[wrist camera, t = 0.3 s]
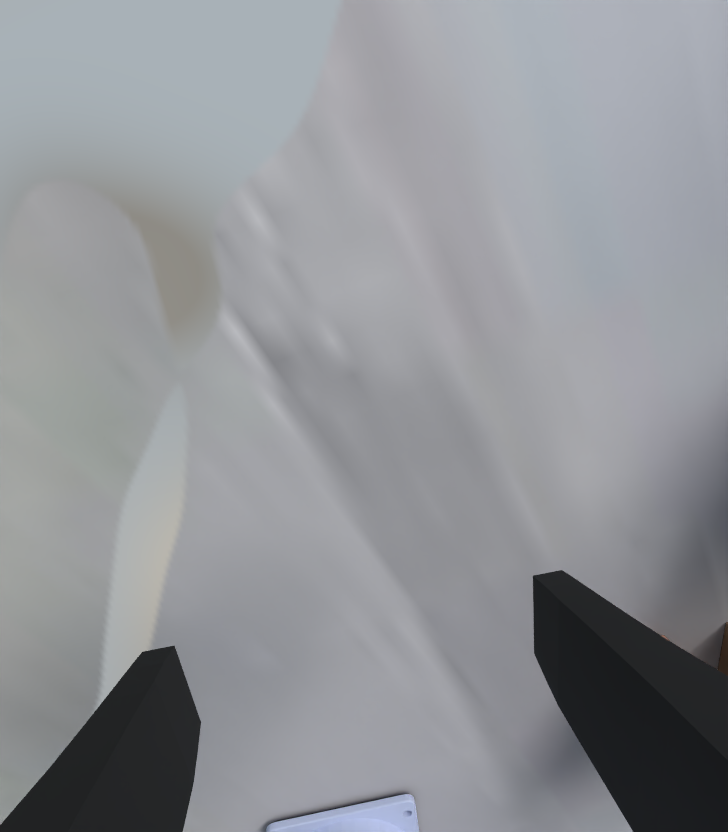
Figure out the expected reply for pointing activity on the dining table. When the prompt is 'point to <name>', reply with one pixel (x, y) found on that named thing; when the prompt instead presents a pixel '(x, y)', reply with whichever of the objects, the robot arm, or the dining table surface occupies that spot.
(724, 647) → the domino
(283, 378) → the dining table surface
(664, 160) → the dining table surface
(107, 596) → the dining table surface
